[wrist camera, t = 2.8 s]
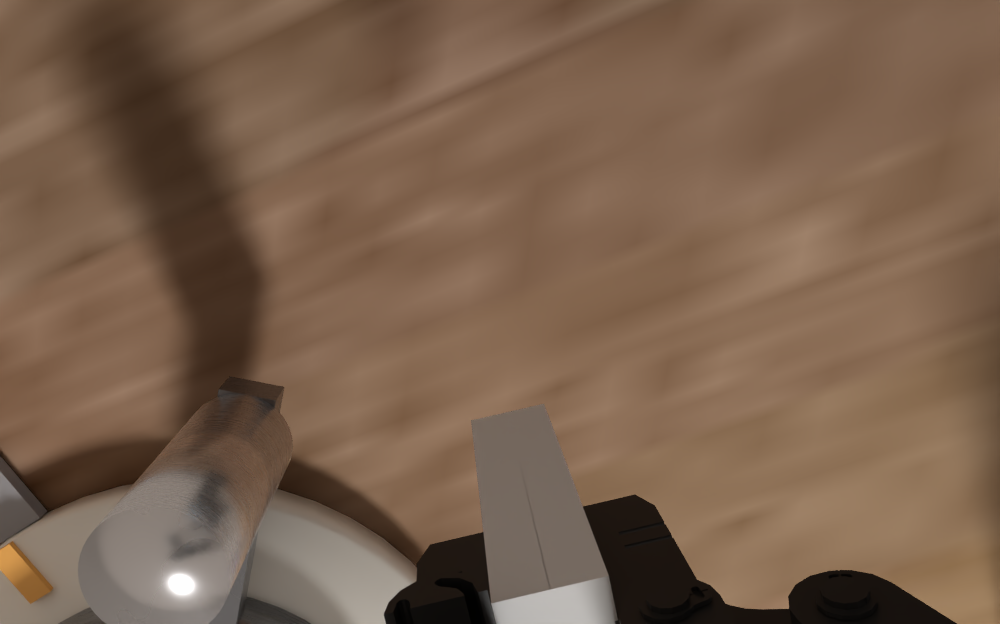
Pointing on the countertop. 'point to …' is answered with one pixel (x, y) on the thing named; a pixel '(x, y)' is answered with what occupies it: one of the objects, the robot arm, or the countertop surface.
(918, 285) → the countertop surface
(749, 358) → the countertop surface
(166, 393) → the countertop surface
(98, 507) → the stand
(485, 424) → the robot arm
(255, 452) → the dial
